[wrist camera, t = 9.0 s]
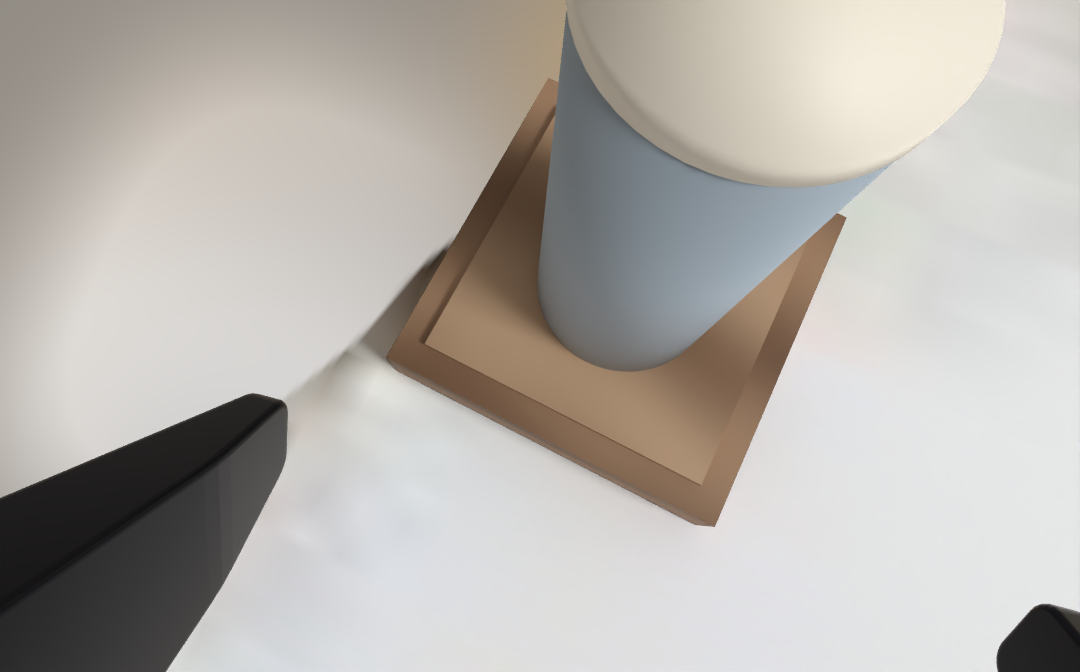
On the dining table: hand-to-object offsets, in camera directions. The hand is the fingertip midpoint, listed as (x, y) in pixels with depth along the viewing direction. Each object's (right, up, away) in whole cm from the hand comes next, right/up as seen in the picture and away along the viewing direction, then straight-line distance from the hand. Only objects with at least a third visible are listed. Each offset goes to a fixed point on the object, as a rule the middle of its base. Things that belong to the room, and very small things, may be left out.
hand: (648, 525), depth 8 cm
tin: (+1, +4, +11) cm, 12 cm away
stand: (+1, +3, +14) cm, 14 cm away
